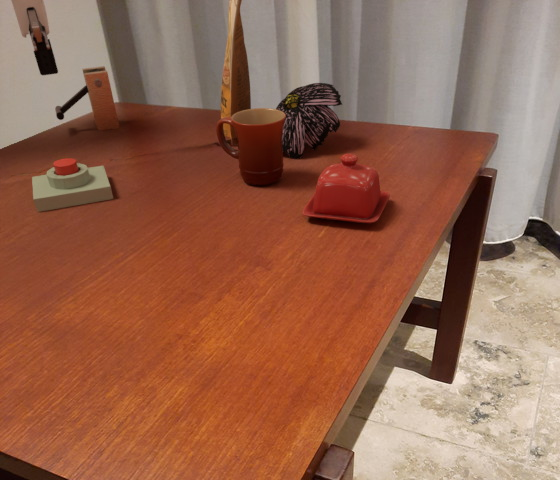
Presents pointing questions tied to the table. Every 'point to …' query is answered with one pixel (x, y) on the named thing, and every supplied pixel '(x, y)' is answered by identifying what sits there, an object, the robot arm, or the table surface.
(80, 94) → the lever
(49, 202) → the button housing
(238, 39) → the pancake mix bag
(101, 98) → the bracket
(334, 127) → the decorative flower
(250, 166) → the mug
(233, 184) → the table surface
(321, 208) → the butter dish
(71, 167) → the button
